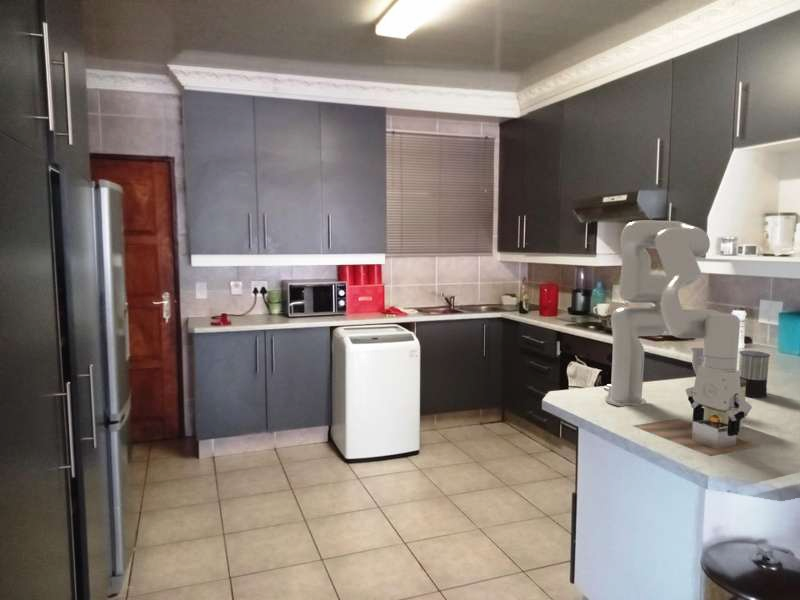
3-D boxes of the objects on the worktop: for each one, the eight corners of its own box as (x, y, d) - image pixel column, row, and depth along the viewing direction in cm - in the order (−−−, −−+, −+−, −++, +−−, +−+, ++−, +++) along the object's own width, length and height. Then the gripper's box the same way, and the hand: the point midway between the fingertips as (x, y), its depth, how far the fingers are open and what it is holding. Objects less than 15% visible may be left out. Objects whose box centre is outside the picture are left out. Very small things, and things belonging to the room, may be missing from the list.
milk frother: (771, 399, 190) (775, 356, 189) (720, 396, 194) (723, 353, 192) (755, 388, 204) (758, 348, 203) (707, 385, 207) (710, 346, 206)
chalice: (698, 407, 179) (702, 352, 177) (682, 401, 186) (686, 348, 184) (717, 406, 181) (721, 351, 179) (700, 400, 188) (704, 347, 186)
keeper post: (705, 441, 143) (707, 413, 143) (712, 440, 144) (714, 412, 144) (715, 445, 141) (717, 416, 140) (722, 443, 142) (724, 415, 141)
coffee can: (706, 419, 167) (709, 372, 166) (746, 426, 160) (750, 378, 159) (697, 427, 160) (700, 378, 158) (738, 435, 153) (742, 385, 151)
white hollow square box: (691, 439, 145) (692, 421, 144) (710, 436, 147) (711, 418, 147) (716, 449, 138) (718, 429, 138) (735, 445, 141) (737, 426, 140)
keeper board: (632, 430, 156) (632, 425, 155) (678, 423, 163) (678, 418, 163) (710, 462, 134) (710, 455, 134) (759, 451, 141) (760, 445, 141)
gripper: (679, 357, 147) (675, 420, 149) (742, 371, 131) (737, 442, 133) (699, 355, 150) (695, 417, 152) (763, 368, 134) (758, 438, 136)
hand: (714, 429), depth 142 cm, fingers open, 9 cm apart
